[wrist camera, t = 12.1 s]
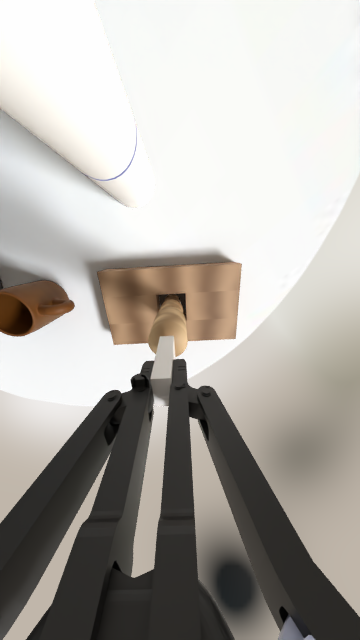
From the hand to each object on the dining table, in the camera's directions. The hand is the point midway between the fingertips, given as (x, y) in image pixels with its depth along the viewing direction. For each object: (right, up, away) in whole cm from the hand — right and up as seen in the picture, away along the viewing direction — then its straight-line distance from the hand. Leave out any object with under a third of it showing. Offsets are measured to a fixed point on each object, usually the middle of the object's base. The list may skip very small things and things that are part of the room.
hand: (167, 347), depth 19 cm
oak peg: (0, +7, +16) cm, 17 cm away
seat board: (0, +7, +16) cm, 17 cm away
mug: (-22, +7, +16) cm, 28 cm away
